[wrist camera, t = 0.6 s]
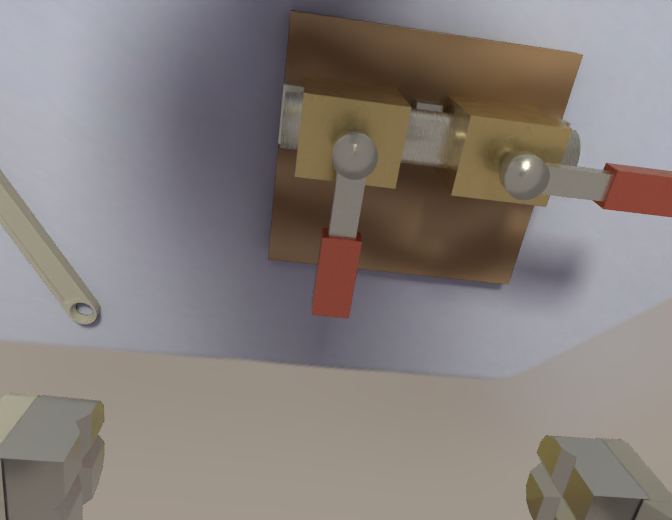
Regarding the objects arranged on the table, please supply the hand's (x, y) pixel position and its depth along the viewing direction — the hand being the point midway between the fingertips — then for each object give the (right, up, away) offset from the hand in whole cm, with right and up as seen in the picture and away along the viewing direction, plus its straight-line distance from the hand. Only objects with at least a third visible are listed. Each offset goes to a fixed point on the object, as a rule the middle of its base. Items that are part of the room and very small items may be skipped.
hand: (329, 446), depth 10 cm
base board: (+6, +12, +36) cm, 38 cm away
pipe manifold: (+10, +13, +33) cm, 37 cm away
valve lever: (+1, +6, +27) cm, 27 cm away
